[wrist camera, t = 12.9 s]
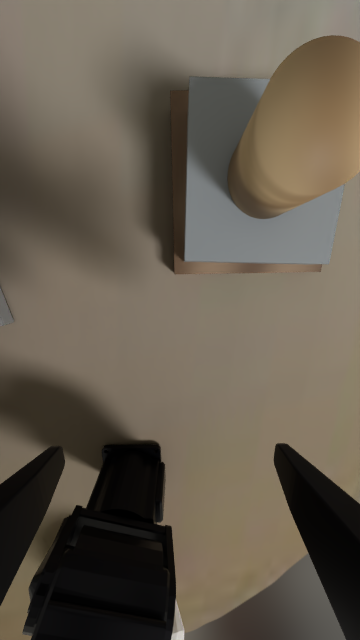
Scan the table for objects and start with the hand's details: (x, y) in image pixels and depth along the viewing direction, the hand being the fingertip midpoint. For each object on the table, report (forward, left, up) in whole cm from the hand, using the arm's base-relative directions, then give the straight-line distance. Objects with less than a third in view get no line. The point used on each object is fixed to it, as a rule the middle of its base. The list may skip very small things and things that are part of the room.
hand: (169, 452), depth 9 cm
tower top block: (+6, +13, -10) cm, 17 cm away
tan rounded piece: (+6, +13, -8) cm, 16 cm away
